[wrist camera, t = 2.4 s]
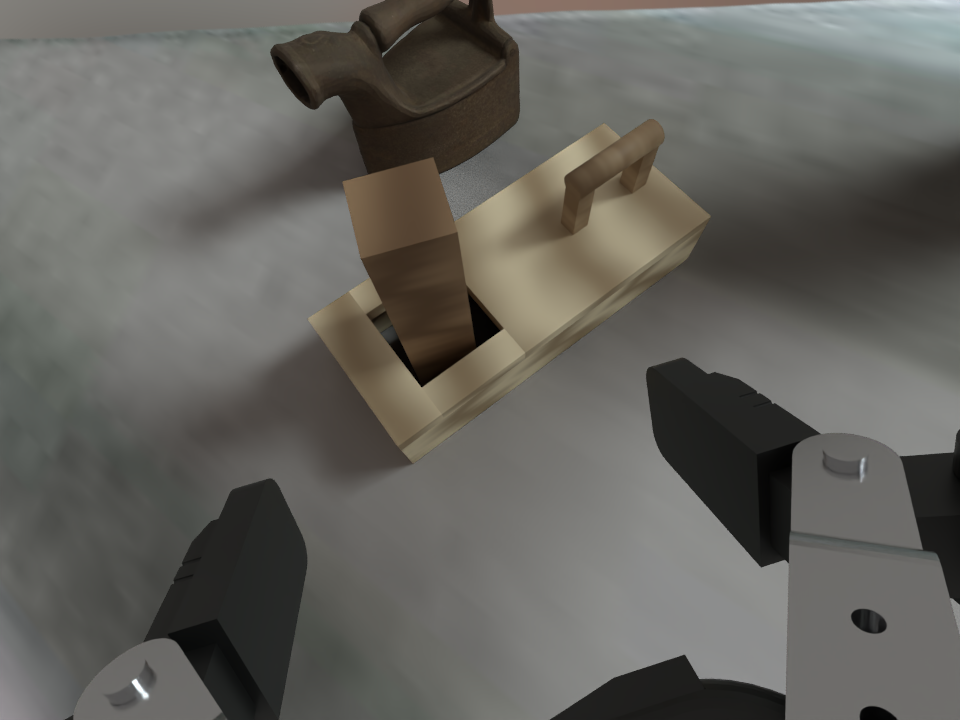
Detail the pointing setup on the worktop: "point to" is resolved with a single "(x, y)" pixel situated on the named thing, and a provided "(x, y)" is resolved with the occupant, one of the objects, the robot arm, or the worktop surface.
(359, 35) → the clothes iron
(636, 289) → the pine toolbox
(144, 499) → the worktop surface
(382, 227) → the walnut key
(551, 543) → the worktop surface
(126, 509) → the worktop surface
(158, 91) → the worktop surface
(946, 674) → the robot arm
